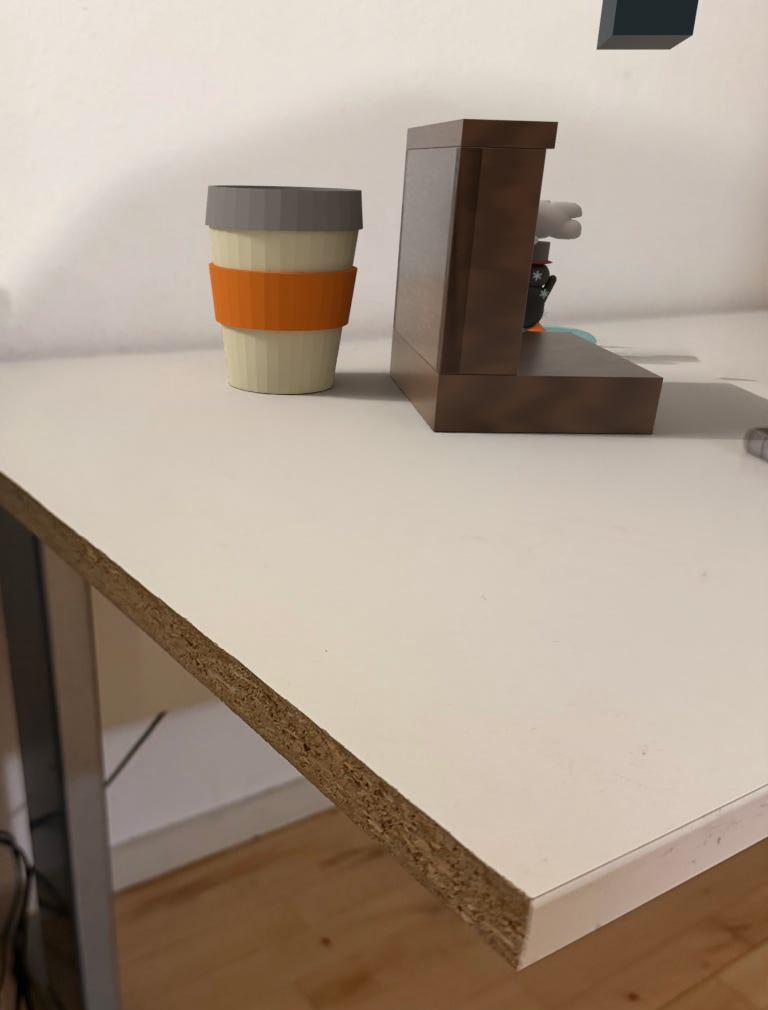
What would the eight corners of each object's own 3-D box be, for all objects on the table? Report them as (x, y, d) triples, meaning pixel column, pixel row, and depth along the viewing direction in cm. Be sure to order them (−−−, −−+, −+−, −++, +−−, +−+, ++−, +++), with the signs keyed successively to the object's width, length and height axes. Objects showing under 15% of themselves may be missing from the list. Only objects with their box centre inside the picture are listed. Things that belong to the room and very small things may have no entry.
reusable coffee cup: (378, 394, 78) (392, 192, 71) (231, 402, 74) (231, 189, 67) (321, 365, 88) (328, 187, 81) (190, 371, 84) (186, 184, 77)
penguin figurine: (591, 348, 101) (617, 190, 94) (599, 367, 91) (629, 192, 84) (403, 337, 104) (415, 183, 97) (392, 353, 95) (404, 185, 88)
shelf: (563, 377, 86) (601, 134, 77) (652, 434, 68) (714, 126, 60) (389, 375, 85) (407, 128, 76) (433, 431, 67) (463, 118, 59)
